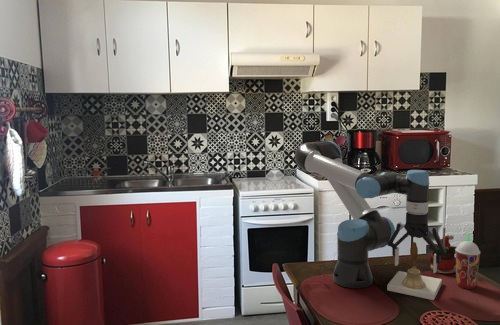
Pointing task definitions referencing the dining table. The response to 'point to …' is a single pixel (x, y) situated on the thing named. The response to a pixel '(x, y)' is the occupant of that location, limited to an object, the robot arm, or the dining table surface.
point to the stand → (427, 292)
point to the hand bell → (413, 272)
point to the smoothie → (467, 264)
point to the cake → (445, 256)
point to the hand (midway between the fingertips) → (415, 268)
